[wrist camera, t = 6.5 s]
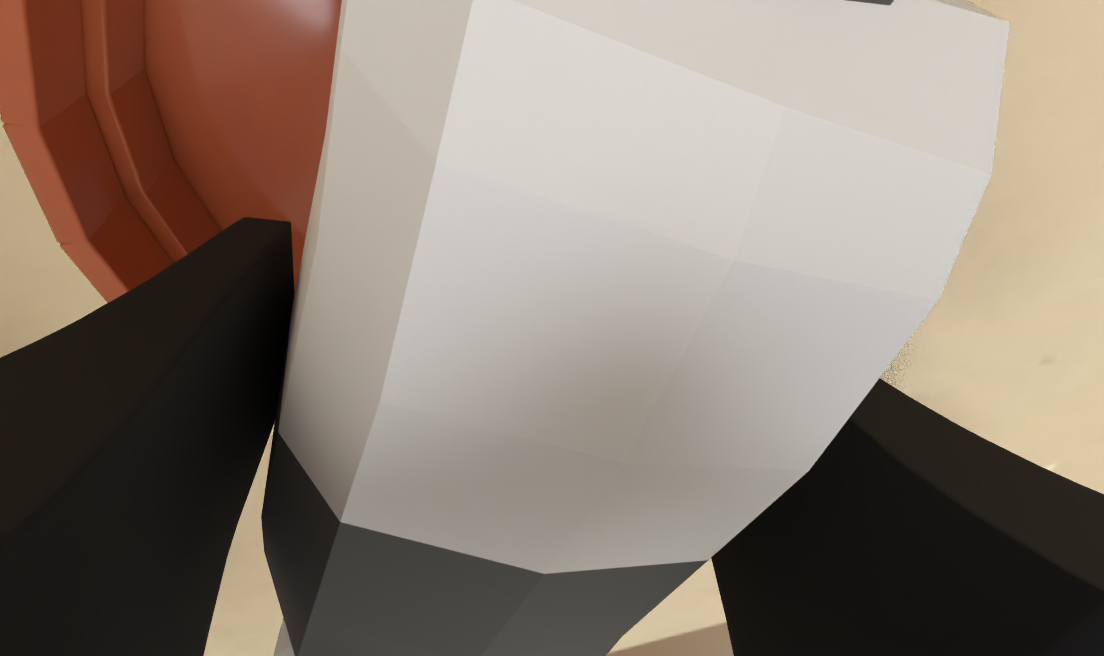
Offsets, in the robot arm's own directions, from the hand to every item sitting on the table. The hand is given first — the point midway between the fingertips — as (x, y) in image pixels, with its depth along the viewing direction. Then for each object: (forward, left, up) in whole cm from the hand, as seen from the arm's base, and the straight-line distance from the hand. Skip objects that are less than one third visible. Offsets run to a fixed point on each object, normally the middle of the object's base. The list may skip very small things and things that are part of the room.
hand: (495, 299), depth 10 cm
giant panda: (0, 0, -4) cm, 4 cm away
